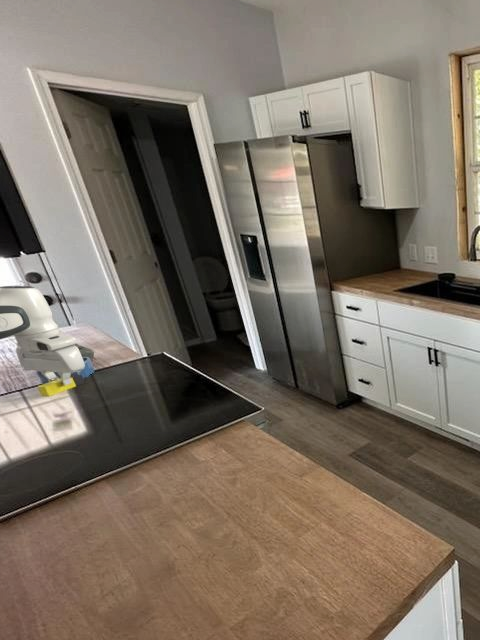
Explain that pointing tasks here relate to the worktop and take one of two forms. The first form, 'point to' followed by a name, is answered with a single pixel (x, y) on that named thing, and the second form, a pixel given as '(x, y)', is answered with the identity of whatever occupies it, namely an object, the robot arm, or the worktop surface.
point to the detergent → (85, 351)
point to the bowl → (85, 373)
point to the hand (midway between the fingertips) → (61, 383)
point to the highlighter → (60, 385)
